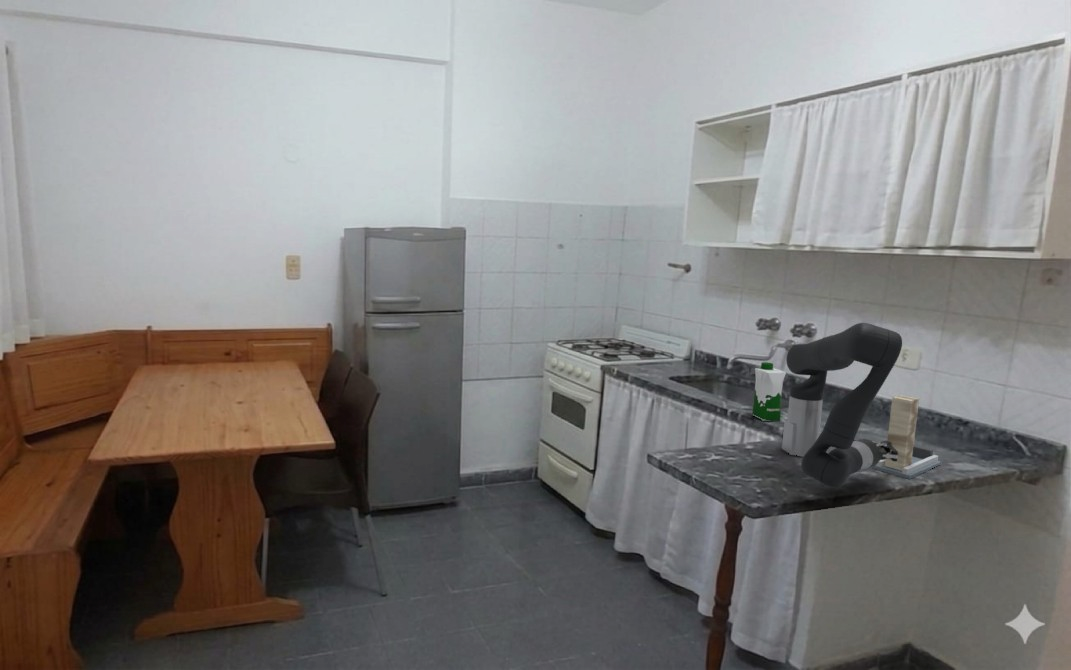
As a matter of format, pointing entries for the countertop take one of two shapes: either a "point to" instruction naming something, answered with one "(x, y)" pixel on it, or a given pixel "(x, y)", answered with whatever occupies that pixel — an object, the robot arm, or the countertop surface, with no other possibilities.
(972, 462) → the countertop surface
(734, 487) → the countertop surface
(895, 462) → the block
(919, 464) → the chute
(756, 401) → the milk carton
